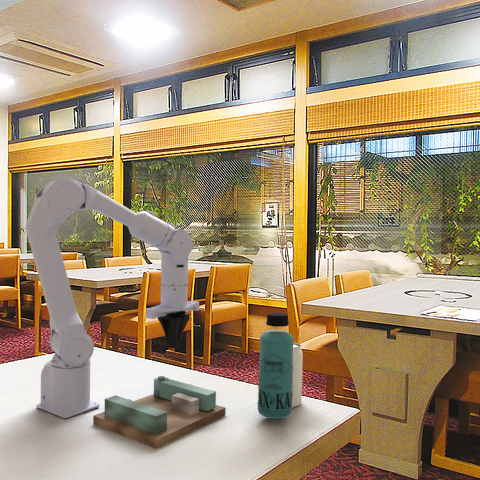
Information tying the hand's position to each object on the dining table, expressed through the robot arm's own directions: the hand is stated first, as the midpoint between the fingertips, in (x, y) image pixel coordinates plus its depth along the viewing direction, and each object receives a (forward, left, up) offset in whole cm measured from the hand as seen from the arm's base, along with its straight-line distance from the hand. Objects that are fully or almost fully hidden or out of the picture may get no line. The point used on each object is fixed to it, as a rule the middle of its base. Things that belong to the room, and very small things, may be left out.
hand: (173, 347), depth 108 cm
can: (+23, +9, -10) cm, 26 cm away
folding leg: (+9, -7, -8) cm, 14 cm away
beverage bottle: (+26, 0, -10) cm, 28 cm away
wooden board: (+10, -13, -9) cm, 19 cm away
